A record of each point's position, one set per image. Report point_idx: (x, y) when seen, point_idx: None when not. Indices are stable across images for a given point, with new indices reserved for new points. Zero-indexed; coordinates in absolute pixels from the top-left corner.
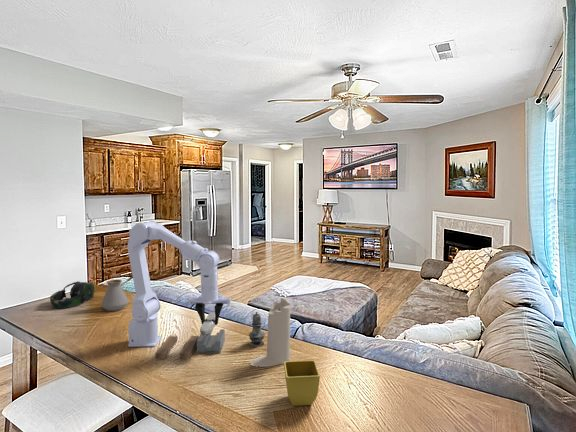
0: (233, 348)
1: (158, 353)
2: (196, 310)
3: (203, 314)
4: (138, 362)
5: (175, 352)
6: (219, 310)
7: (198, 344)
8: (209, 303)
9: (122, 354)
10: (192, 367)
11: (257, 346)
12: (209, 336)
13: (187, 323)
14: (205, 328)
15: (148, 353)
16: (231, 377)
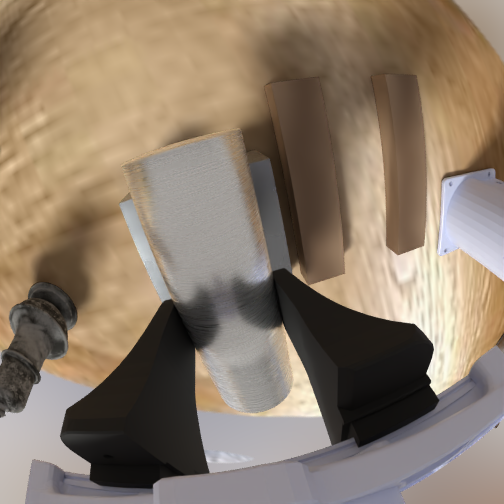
0: (104, 246)
1: (409, 77)
2: (395, 322)
3: (303, 343)
4: (437, 55)
5: (358, 139)
6: (89, 397)
7: (254, 158)
8: (165, 488)
9: (488, 117)
10: (208, 16)
11: (33, 285)
12: None
13: None
14: (182, 145)
15: (440, 124)
16: (22, 25)
